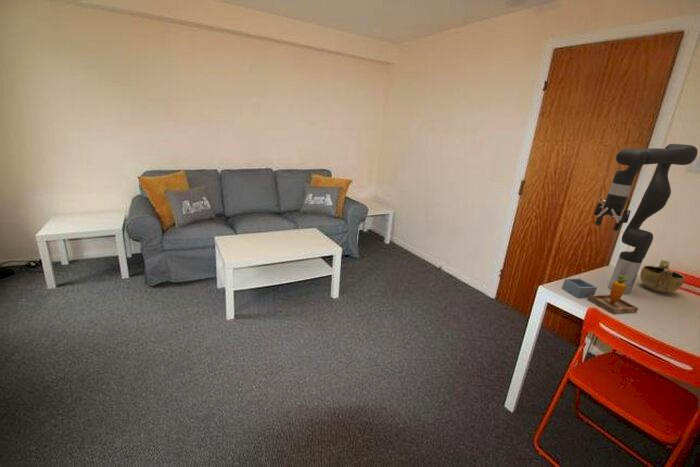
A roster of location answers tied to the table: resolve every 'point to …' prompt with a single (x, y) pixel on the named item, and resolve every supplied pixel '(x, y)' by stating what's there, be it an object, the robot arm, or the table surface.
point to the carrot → (617, 289)
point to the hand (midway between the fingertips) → (606, 227)
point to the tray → (614, 308)
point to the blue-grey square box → (579, 288)
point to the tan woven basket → (661, 278)
